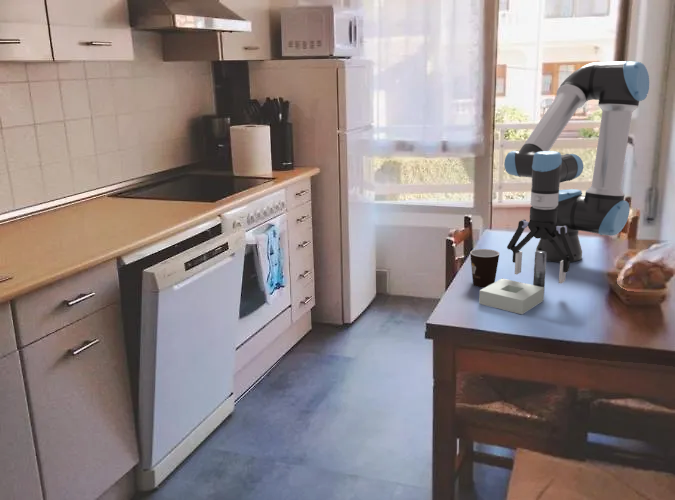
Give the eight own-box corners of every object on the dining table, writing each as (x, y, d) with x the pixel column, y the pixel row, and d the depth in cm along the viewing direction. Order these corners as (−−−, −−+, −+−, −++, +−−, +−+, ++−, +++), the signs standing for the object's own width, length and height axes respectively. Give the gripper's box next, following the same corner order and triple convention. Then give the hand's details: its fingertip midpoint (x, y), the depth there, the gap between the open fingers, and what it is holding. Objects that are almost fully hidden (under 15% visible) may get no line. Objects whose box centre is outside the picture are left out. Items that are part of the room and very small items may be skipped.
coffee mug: (498, 289, 188) (500, 257, 185) (469, 288, 190) (470, 256, 187) (497, 277, 199) (498, 246, 196) (469, 276, 201) (470, 245, 198)
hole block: (501, 291, 187) (502, 278, 185) (543, 300, 178) (544, 287, 177) (479, 303, 177) (479, 290, 176) (522, 314, 169) (522, 300, 168)
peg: (535, 288, 188) (538, 250, 184) (546, 291, 186) (548, 252, 182) (530, 291, 186) (533, 252, 182) (541, 293, 183) (543, 254, 180)
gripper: (497, 203, 184) (494, 272, 190) (582, 214, 168) (576, 289, 174) (509, 199, 189) (506, 266, 195) (593, 209, 173) (586, 282, 179)
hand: (539, 277), depth 184 cm, fingers open, 13 cm apart
